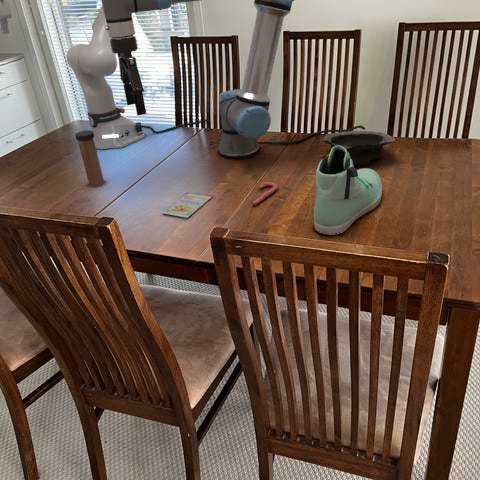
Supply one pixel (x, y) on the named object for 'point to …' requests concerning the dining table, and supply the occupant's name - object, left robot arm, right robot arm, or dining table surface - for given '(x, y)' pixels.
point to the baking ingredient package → (187, 205)
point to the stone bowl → (360, 144)
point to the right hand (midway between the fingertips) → (136, 109)
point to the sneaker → (343, 192)
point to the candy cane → (266, 192)
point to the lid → (84, 135)
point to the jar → (91, 162)
